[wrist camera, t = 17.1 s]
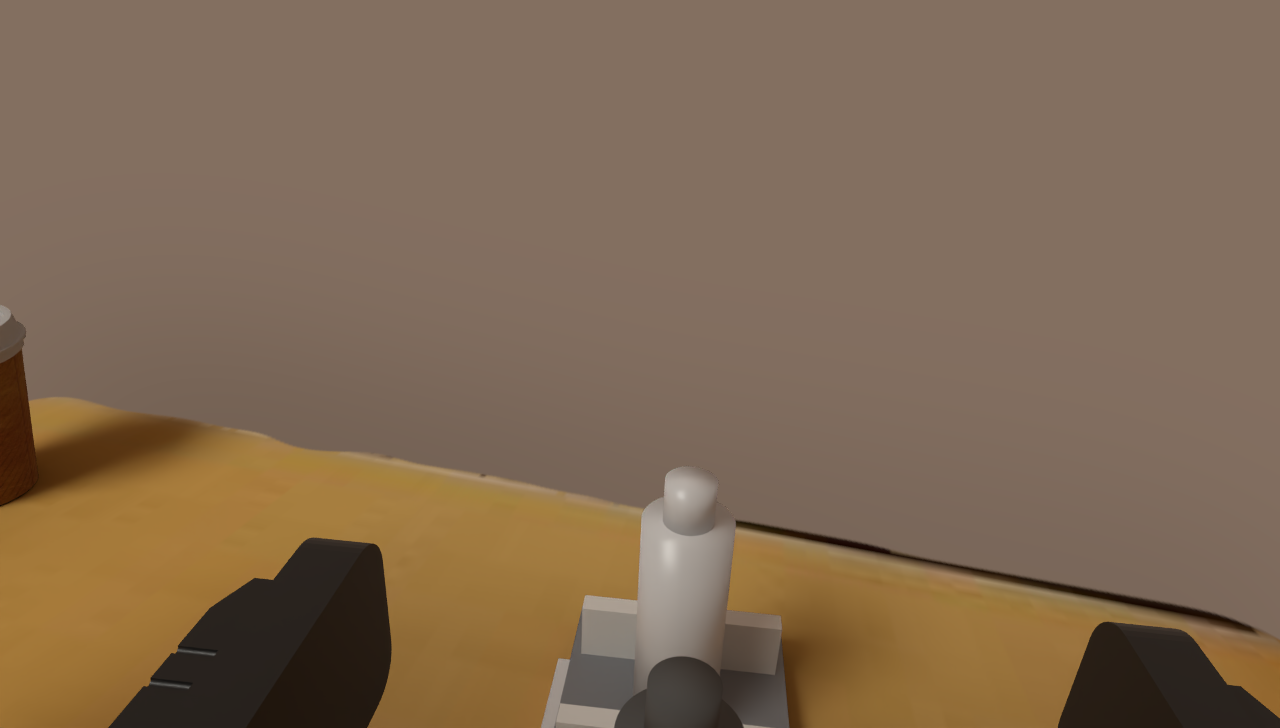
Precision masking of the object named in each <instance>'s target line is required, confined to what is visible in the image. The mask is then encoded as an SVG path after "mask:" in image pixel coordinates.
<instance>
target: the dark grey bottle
mask: <svg viewBox="0 0 1280 728" xmlns="http://www.w3.org/2000/svg"><path fill="white" fill-rule="evenodd" d="M722 693H723V684H722V680H721V678H720V676H719V674H718V673H717V672H716V671H715V669H713V668H712V667H711V666H710V665H708V664H707V663H705V662H703V661H701V660H699V659H696V658H692V657H685V656H677V657H671V658H667V659H665V660H662V661H660V662H659V663H657V664H656V665H655V666H654V667H653V668H652V669H651V671H650V673H649V675H648V680H647V689H645V690H643V691H641V692H639V693H637V694H636V695H634V696H633V697H632V698H630V699H629V700H628V701H627V702H626V703H625V705H624V706H623V707H622V708H621V710H620V712H619V713H618V716H617V718H616V721H615V725H614V728H744V726H743V724H742V722H741V720H740V718H739V717H738V715H737V714H736V712H735V711H734V710H733V709H732V708H731V707H730V706H729V705H728V704H727V703H726V702H725V701H724V700H722Z"/></svg>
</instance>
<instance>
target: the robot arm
mask: <svg viewBox="0 0 1280 728" xmlns="http://www.w3.org/2000/svg"><path fill="white" fill-rule="evenodd" d="M390 663H391V635H390V625H389V616H388V606H387V597H386V587H385V577H384V568H383V559H382V554H381V551H380V549H379V547H378V546H377V545H375V544H371V543H361V542H351V541H342V540H332V539H322V538H309V539H307V540H306V541H304V542H303V543H302V544H301V545H300V546H299V548H298V549H297V550H296V551H295V553H294V554H293V555H292V557H291V558H290V559H289V560H288V562H287V563H286V564H285V566H284V567H283V568H282V569H281V571H280V572H279V573H278V575H277V576H276V577H275V578H274V580H268V579H259V578H254V579H252V580H251V581H249V582H248V583H246V584H245V585H244V586H242V587H241V588H239V589H238V590H236V591H235V592H233V593H232V594H230V595H229V596H227V597H226V598H224V599H223V600H221V601H220V602H218V603H217V604H215V605H214V606H212V607H211V608H209V610H208V611H207V612H206V613H205V614H204V616H203V617H202V618H201V619H200V620H199V621H198V623H197V624H196V625H195V626H194V627H193V629H192V630H191V631H190V632H189V633H188V634H187V636H186V637H185V638H184V639H183V640H182V641H181V643H180V644H179V645H178V650H177V652H176V654H174V653H171V654H170V656H169V657H168V658H167V659H166V660H165V662H164V663H163V664H162V665H161V666H160V667H159V669H158V670H157V671H156V672H155V673H154V675H153V676H152V677H151V682H150V684H149V686H148V687H146V686H143V687H142V689H141V690H140V691H139V692H138V693H137V695H136V696H135V697H134V698H133V699H132V700H131V702H130V703H129V704H128V705H127V706H126V708H125V709H124V710H123V711H122V712H121V713H120V715H119V716H118V717H117V718H116V719H115V720H114V722H113V723H112V724H111V725H110V726H109V728H367V727H368V725H369V723H370V721H371V719H372V717H373V715H374V713H375V711H376V709H377V706H378V704H379V702H380V700H381V698H382V695H383V692H384V689H385V686H386V683H387V679H388V674H389V669H390ZM1058 728H1280V718H1278V717H1277V716H1276V715H1275V714H1274V713H1272V712H1271V711H1270V710H1269V709H1268V708H1266V707H1265V706H1264V705H1263V704H1261V703H1260V702H1259V701H1258V700H1257V699H1255V698H1254V697H1253V696H1252V695H1250V694H1249V693H1248V692H1247V691H1246V690H1244V689H1243V688H1242V687H1241V686H1232V685H1227V684H1226V682H1225V681H1224V680H1223V678H1222V677H1221V676H1220V674H1219V673H1218V672H1217V670H1216V669H1215V667H1214V666H1213V665H1212V663H1211V662H1210V661H1209V659H1208V658H1207V657H1206V655H1205V654H1204V652H1203V651H1202V650H1201V648H1200V647H1199V646H1198V644H1197V643H1196V642H1195V641H1194V639H1193V638H1192V637H1191V636H1190V635H1188V634H1187V633H1186V632H1184V631H1182V630H1178V629H1172V628H1162V627H1153V626H1143V625H1133V624H1124V623H1114V622H1103V623H1101V624H1099V625H1098V626H1097V627H1096V628H1095V630H1094V631H1093V633H1092V635H1091V637H1090V640H1089V642H1088V645H1087V648H1086V651H1085V653H1084V656H1083V659H1082V661H1081V664H1080V667H1079V669H1078V672H1077V675H1076V677H1075V680H1074V683H1073V685H1072V688H1071V691H1070V694H1069V696H1068V699H1067V702H1066V704H1065V707H1064V710H1063V712H1062V715H1061V718H1060V721H1059V724H1058Z"/></svg>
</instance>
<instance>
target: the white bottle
mask: <svg viewBox="0 0 1280 728" xmlns="http://www.w3.org/2000/svg"><path fill="white" fill-rule="evenodd" d="M717 490H718V479H717V477H716V476H715V475H714V474H713V473H712V472H710V471H708V470H705V469H703V468H699V467H693V466H684V467H679V468H675V469H673V470H671V471H670V472H668V473H667V475H666V477H665V490H664V497H662V498H659V499H657V500H655V501H653V502H652V503H650V504H649V505H648V506H647V507H646V508H645V509H644V511H643V514H642V521H641V541H640V562H639V582H638V603H637V623H636V644H635V664H634V685H633V696H634V695H636V694H637V693H639V692H641V691H643V690H645V689H647V680H648V675H649V673H650V671H651V669H652V668H653V667H654V666H655V665H656V664H657V663H659V662H660V661H662V660H665V659H667V658H671V657H677V656H685V657H692V658H696V659H699V660H701V661H703V662H705V663H707V664H708V665H710V666H711V667H712V668H713V669H715V671H716V672H717V673H718V674H719V676H720V668H721V659H722V650H723V640H724V631H725V622H726V612H727V603H728V593H729V584H730V575H731V565H732V556H733V547H734V537H735V528H736V522H735V519H734V517H733V515H732V513H731V512H730V511H729V510H728V509H727V508H726V507H725V506H723V505H721V504H720V503H718V502H717Z"/></svg>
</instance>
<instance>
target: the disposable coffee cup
mask: <svg viewBox="0 0 1280 728" xmlns="http://www.w3.org/2000/svg"><path fill="white" fill-rule="evenodd" d="M25 337H26V329H25V327H24V326H23V325H22V324H21V323H19V322H17V321H16V320H15V318H14V316H13V315H12V313H11V311H10V310H9V309H8V308H6V307H4V306H3V305H0V505H2V504H4V503H7V502H9V501H11V500H13V499H15V498H17V497H19V496H21V495H22V494H24V493H25V492H27V491H28V490H29V489H30V488H32V487H33V485H34V484H35V483H36V481H37V479H38V471H37V463H36V456H35V448H34V440H33V433H32V424H31V417H30V409H29V402H28V393H27V386H26V380H25V372H24V363H23V355H22V347H23V345H24V340H23V339H24V338H25Z"/></svg>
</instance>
